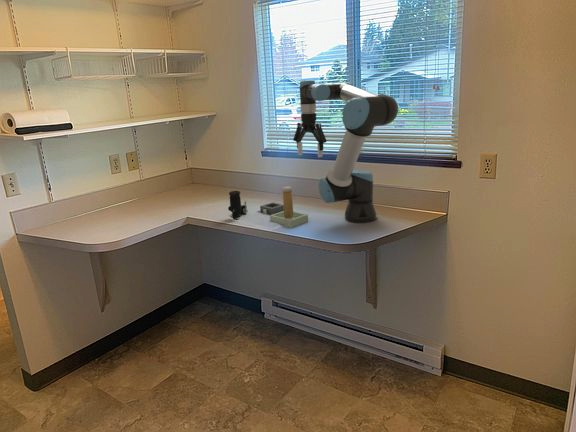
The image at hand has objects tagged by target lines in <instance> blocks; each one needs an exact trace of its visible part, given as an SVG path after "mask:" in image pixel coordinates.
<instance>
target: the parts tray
mask: <svg viewBox="0 0 576 432" xmlns="http://www.w3.org/2000/svg"><path fill="white" fill-rule="evenodd" d="M293 216H294V219H291V220H289V219H285V218H284V211H282V212H279V213H276V214H273V215H269V221H270V222H275V223H279V224H280V225H281V226H282V227H286V228H290V229H292V228H294V227H297V226H300V225H302V224H305V223H308V222H309V214H307V213H303V212H300V211H294V210H293Z"/></svg>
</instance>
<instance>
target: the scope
mask: <svg viewBox="0 0 576 432" xmlns="http://www.w3.org/2000/svg"><path fill="white" fill-rule="evenodd" d="M228 195H229V206H228V211H229V212H230V213H232V220H234V221H238V220H240V218H241V217H242V215H247V213H248V209H247V201H246V200H244V204H242V202H241V201H242V200H241V191H239V190H232V191H229V192H228ZM238 218H239V219H238Z"/></svg>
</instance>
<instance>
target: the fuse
mask: <svg viewBox="0 0 576 432" xmlns="http://www.w3.org/2000/svg"><path fill="white" fill-rule="evenodd" d="M281 189H282V200H283V201H282V202H283V203H282V204H283V205H284V218H285V219H289V220H291V219H294V216H293V211H294V202H293V187H292V186H283V187H282V188H281Z"/></svg>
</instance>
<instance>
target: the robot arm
mask: <svg viewBox="0 0 576 432" xmlns="http://www.w3.org/2000/svg"><path fill="white" fill-rule="evenodd" d="M299 98H300V99H299V101H300V113H301V114H300V121H301V122H297V125H296V129H295V132H294V136H293V142H296V149H297V156H303V154H304V153H303V141H302V140H303V138H304V137H305V135H306V133H311V134H312V135H313V136H314V138H315V140H316V141H317V143H318V144H317V158H322V157H323V156H324V154H323V152H324V144H325V143H327V141H328V140H327V139H326V136H325V133H324V130H323V128H322V124H321V122H317V113H316V112H317V104H316V103H317V101H318V102H323V101H329V100H330V101H331V100H332V101H333V100H341V101H343V102H345V104H344V106H343V107H342V114H341V115H342V117H341V118H342V120H341V121H342V124H343V126H344V129H345V132H344V135H343V138H342V141H341V145H340V146H339V150H338V153H337V155H336V159H335V161H334V163H333V167H332V169H330V170H328V172H327V174H326V177H322V178H320V179H319V181H318V191H319V195H320V197H321V200H323V202H325V203H327V204H331V203H338V202H343V201H347V205H346V208H345V213H344V220H346V221H347V222H351V223H359V222H363V223H370V222H373V220H374V221H376V220H377V212H376V209H375V205H374V177H373V175H374V174H373V173H372V172H370V171H366V170H361V169H359V170H358V169H354V168H355V166H356V164H357V161H358V159H359V156H360V153H361V151H362V149H363V145H364V143H365V140H366V138H367V137H370V136H371V135H372V133H373V131H374V128H376V127H381V126H387V125H390V124H392V122H393V121H394V120H395V119H396V117H397V116H398V113H399V104H398V102H397V100H396V99H395V98H394V97H392V96H390V95H388V94H384V93H380V94H377V93H373V92H370V91H368V90H365V89H361V88H358V87H356V86H355V85H354V84H353V83H352V82H350V81H349V82H348V81H344V82H329V83H316V80H315V79H307V80H306V79H305V80H304V79H303V80H300V81H299Z"/></svg>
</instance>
